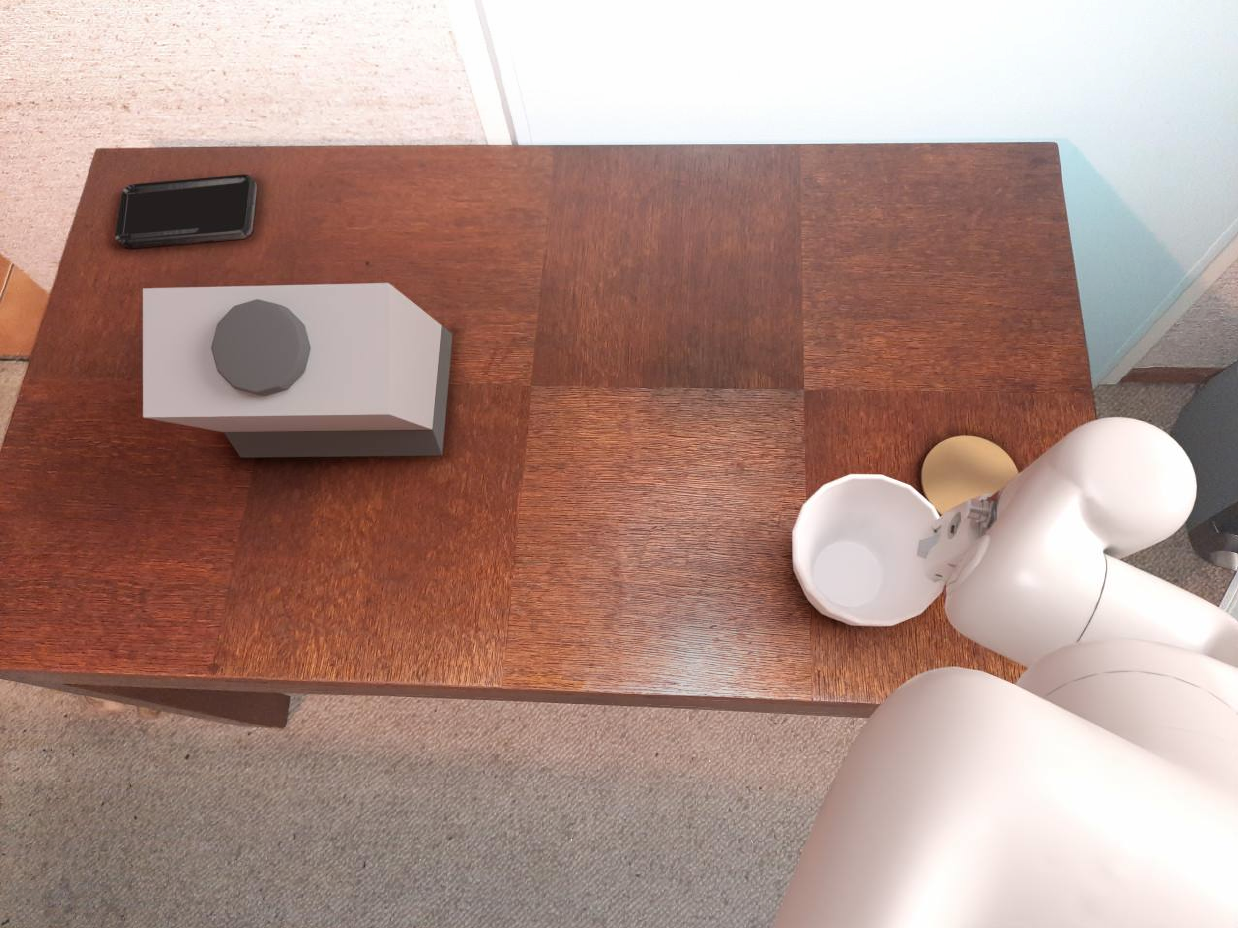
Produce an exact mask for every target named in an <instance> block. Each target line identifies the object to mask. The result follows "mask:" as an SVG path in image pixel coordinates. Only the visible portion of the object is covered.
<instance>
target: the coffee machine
mask: <svg viewBox="0 0 1238 928" xmlns="http://www.w3.org/2000/svg"><path fill="white" fill-rule="evenodd" d="M453 337H454V336H453V333H452V332H450V330H448V329H447V328H446V327H445V326H444V325H442V324H441V323H440V322H438V321H437V320H436V319H434V318H433V316H430V315H429V314H428V313H427V312H426V311H424V309H422V308H421V307H419V306H418V305H417V304H416V303H414V302H413V301H412V300H411V299H410V298H408V297H407V296H406V295H405V294H403V293H402V292H401V291H400V290H398V289H397V288H396V287H394V286H393V285H392V284H390V283H389V282H371V283H369V282H367V283H366V282H365V283H322V284H321V283H320V284H319V283H318V284H282V285H281V284H279V285H277V284H276V285H273V284H272V285H235V286H234V285H233V286H232V285H231V286H228V285H227V286H189V287H188V286H187V287H185V286H183V287H182V286H181V287H151V288H150V287H145V288H144V287H143V288H142V418H144V419H149V420H155V421H159V422H166V423H172V424H177V425H182V426H189V427H194V428H197V429H204V430H209V431H215V432H220V433H223V434H224V435H225V436H226V438H227V440H229V443H230V444H231V446H232V447H233V448H234V450H235V451H236V453H237V455H238V456H239V457H240V458H323V457H324V458H326V457H327V458H329V457H330V458H334V457H336V458H337V457H338V458H339V457H340V458H341V457H428V456H430V457H432V456H434V457H435V456H443V448H444V440H445V439H444V437H445V428H446V427H445V426H446V415H447V404H448V403H447V402H448V392H449V383H450V381H449V380H450V369H451V360H452V359H451V358H452V348H453V347H452V346H453V345H452V344H453Z"/></svg>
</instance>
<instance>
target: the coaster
mask: <svg viewBox="0 0 1238 928" xmlns="http://www.w3.org/2000/svg"><path fill="white" fill-rule="evenodd" d="M1018 474H1019V470H1018V468H1017V467H1016V464H1015V462H1014V460H1013V459H1012V458H1011V457H1010V455H1009V454H1008V453H1007V452H1006V451H1005V450H1004V449H1002V448H1001V447H1000V446H999V445H998V444H996V443H994V442H993V441H990V440H988V439H985V438H982V437H979V436H975V435H956V436H952V437H948V438H946V439H943V440H942V441H940V442H938V443H937V444H936V445H934V446H933V447H932V448H931V449H930V451H928V453H927V455H926V456H925V457H924V460H923V462H922V465H921V468H920V486H921V491H922V493H923V495H924V498H925V499H926V500H927V501H928V502H930V503H931V504H932V505H933V506H934V507H935V509H936V511H937V513H938V515H939V516H940V517H941V516H942V515H943V514H945V513H946V512H947V511H949V510H951V509H952V508H954V507H956V506H957V505H959V504H961V503H964V502H966V501H968V500H969V499H973V498H975V497H978V496H981V495H984V494H995V493H996V492H997V491H998V490H999V489H1001V488H1002V487H1003V486H1004V485H1006V484H1007V483H1008V482H1009V481H1010V480H1012V479H1013V478H1014V477H1016V476H1017V475H1018Z"/></svg>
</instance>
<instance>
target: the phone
mask: <svg viewBox="0 0 1238 928" xmlns="http://www.w3.org/2000/svg"><path fill="white" fill-rule="evenodd" d="M257 197H258V184H257V182H256V181H255V180H254V178H253V177H252V176H250V175H249V174H244V173H243V174H233V175H232V174H231V175H222V176H221V175H219V176H210V177H200V178H187V179H186V178H185V179H176V180H175V179H174V180H164V181H154V182H152V181H151V182H143V183H142V182H141V183H132V184H129V185H127V186H126V187H124V189H123V190H122V192H121V198H120V203H119V209H118V215H117V221H116V227H115V233H114V238H115V240H116V241H117V242H118V243H119V244H120V245H121V246H122V247H123V248H125V249H139V248H152V247H162V246H163V247H164V246H175V245H186V244H199V243H210V242H211V243H212V242H221V241H223V242H224V241H233V240H243V239H247V238H248V237H250V236H251V235H252V234H253V232H254V225H255V216H256V208H257V207H256V206H257Z"/></svg>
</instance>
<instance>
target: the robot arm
mask: <svg viewBox="0 0 1238 928" xmlns="http://www.w3.org/2000/svg"><path fill="white" fill-rule="evenodd" d="M1197 489H1198V486H1197V476H1196V473H1195V469H1194V467H1193V464H1192V462H1191V460H1190V457H1189V456H1188V455H1187V452H1186V451H1185V450H1184V449H1183V447H1182V446H1181V445H1180V444H1179V443H1178V442H1177V441H1176V440H1175V439H1174V438H1173V437H1172V436H1170V435H1169V433H1167V432H1165V431H1164V430H1163V429H1161V428H1159V427H1157V425H1154V424H1151V423H1149V422H1146V421H1144V420H1140V419H1137V418H1132V417H1124V416H1123V417H1122V416H1112V417H1101V418H1099V419H1094V420H1091V421H1088V422H1086V423H1082V425H1079V426H1077V427H1075V428H1074V429H1073V430H1071V431H1070V432H1068V433H1066V434H1065V435H1064V436H1063V437H1062V438H1061V439H1059V440H1058V441H1057V442H1056V443H1054V445H1052V446H1051V447H1050V448H1049V449H1047V450H1045V452H1044V453H1042V454H1041V455H1040V456H1039V457H1038V458H1036V459H1035V460H1034V461H1032V462H1031V463H1030V464H1029V465H1027V466H1026V467H1025V468H1024V469H1023V470H1021V471H1020V472H1018V475H1017V476H1016V477H1014V478H1013V479H1012V480H1010V481H1009V482H1008V483H1007V484H1006V485H1004V486H1003V487H1002V488H1001V489H999V490H998V491H997V492H996V493H995V494H984V495H981V496H978V497H975V498H973V499H969V500H968V501H966V502H964V503H961V504H959V505H957V506H956V507H954V508H952V509H951V510H949V511H947V512H946V513H945V514H943V515H942V516H941V515H940V516H939V517H940V518H939V519H937V520H936V522H935V523H934V524H933V525H932V529H933V530H934V532H935V533H938V532H936V531H935V530H938V529H939V528H941V533H940V534H938V535H935V536H932V537H929V538H926V539H923V540H920V541H919V545H918V551H917V556H919V557H922V558H925V559H926V560H925V567H924V573H925V575H926V576H927V577H928V578H929V579H930V580H931V581H934V582H935V581H938V580H944V581H946V582H945V585H944V587H945V595H946V596H945V600H944V611H945V616H946V618H947V621H948V622H949V624H950V625H951V627H953V628H954V629H955V630H956V631H957V632H958V633H959V634H961V635H962V636H963V637H965V638H967V639H969V640H971V641H972V642H974V643H975V644H977V645H980V646H981V647H984V648H985V649H988V650H990V651H992V652H994V653H995V654H998V655H1000V656H1001V657H1004V658H1006V659H1007V660H1011V661H1012V662H1015V663H1017V664H1018V665H1020V666H1022V667H1025V668H1027V669H1026V670H1025V671H1024V672H1023V673H1022V674H1021V675H1020V676H1019V678H1018V679H1017V680H1016V681H1015V683H1012V682H1009V681H1007V680H1005V679H1003V678H1000V677H997V676H996V675H993V674H990V673H988V672H985V671H983V670H979V669H972V668H967V667H960V666H944V667H943V666H942V667H938V668H933V669H929V670H926V671H923V672H921V673H919V674H916V675H914V676H913V677H911V678H910V679H908V680H907V681H904V682H903V683H902V684H901V685H900V686H898V687H897V688H895V689H894V690H893V691H892V692H890V693H889V694H888V695H887V697H885V698H884V699H883V701H882V702H881V703H880V704H879V705H878V706H877V708H876V709H875V710H874V711H873V713H872V714H871V715H870V716H869V717H868V719H867V720H866V721H865V722H864V725H863V726H862V728H861V729H860V730H859V732H858V733H857V734H856V736H855V738H854V740H853V742H852V744H851V746H850V747H849V750H848V751H847V753H846V755H845V757H844V759H843V761H842V762H841V764H840V767H839V769H837V772H836V774H835V777H834V778H833V780H832V782H831V784H830V785H829V788H828V790H827V792H826V794H825V796H824V799H823V801H822V804H821V806H820V808H819V811H818V813H817V815H816V817H815V820H814V822H813V825H812V827H811V829H810V832H809V834H808V836H807V839H806V840H805V843H804V845H803V846H804V847H803V848H802V851H801V853H800V855H799V858H798V861H797V863H796V866H795V868H794V871H793V873H792V876H791V879H790V881H789V884H788V885H787V886H788V887H787V889H786V892H785V894H784V897H783V899H782V902H781V903H780V907H779V909H778V911H777V914H776V916H775V919H774V921H773V925H772V927H771V928H1238V620H1237V619H1236V618H1235V617H1233V616H1232V615H1230V614H1229V613H1228V612H1226V611H1225V610H1223V609H1222V608H1220V607H1219V606H1217V605H1215V604H1213V603H1211V602H1209V601H1208V600H1206V599H1204V598H1202V597H1201V596H1198V595H1196V594H1194V593H1192V592H1190V591H1188V590H1186V589H1183V588H1181V587H1180V586H1178V585H1176V584H1173V583H1171V582H1169V581H1167V580H1165V579H1163V578H1161V577H1159V576H1156V575H1154V574H1152V573H1149V572H1147V571H1145V570H1143V569H1140V568H1138V567H1135V566H1134V565H1132V564H1129V563H1127V562H1124V561H1123V560H1121V559H1124V558H1126V557H1129V556H1131V555H1134V554H1136V553H1138V552H1140V551H1143V550H1145V549H1147V548H1150V547H1152V546H1154V545H1157V544H1158V543H1161V542H1162V541H1165V540H1167V539H1168V538H1169V537H1171V536H1173V535H1174V534H1175V533H1176V532H1177V531H1179V529H1181V528H1182V526H1183V525H1184V524H1185V523H1186V522H1187V521H1188V518H1189V517H1190V515H1191V513H1192V511H1193V509H1194V506H1195V502H1196V499H1197Z"/></svg>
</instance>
